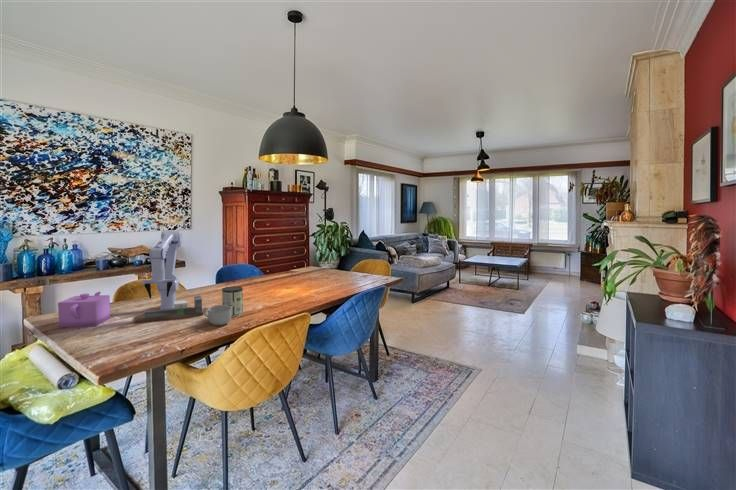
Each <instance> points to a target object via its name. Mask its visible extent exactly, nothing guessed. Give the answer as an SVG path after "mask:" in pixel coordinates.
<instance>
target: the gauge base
mask: <svg viewBox="0 0 736 490" xmlns="http://www.w3.org/2000/svg"><path fill="white" fill-rule="evenodd" d="M193 297H194V300H193V301H194V305H193V307H191V306H190V307H189V306H187V308H182V309H174V308H173V309H163V310H160V309H158V310H149V311H148V310H147V311H143V312H139V313H136V316H135V320H134V321H135V323H136V324H137V323H147V322H155V321H163V320H173V319H182V318H183V319H184V318H190V317H201V316H204V314H203V310H204V309H203V301H202V300H203V298H202V296H201V294H196V295H193Z"/></svg>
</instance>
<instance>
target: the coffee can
mask: <svg viewBox="0 0 736 490" xmlns="http://www.w3.org/2000/svg"><path fill="white" fill-rule="evenodd" d="M243 289H244V288H243V287H242V286H226V287H223V288H221V293H222V294H221V295H222V298H221V299H222V304H221V305H228V306H231V307H232V308H231V318H235V317H239V316H242V315H243V314H244V312H243V311H244V310H243V309H244V308H243V303H244V301H243Z"/></svg>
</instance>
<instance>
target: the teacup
mask: <svg viewBox="0 0 736 490" xmlns="http://www.w3.org/2000/svg"><path fill="white" fill-rule="evenodd" d="M231 308H232V307H231V306H228V305H222V304H218V305H212V306H210V307H209V306H208V307H204V308H203V309H202V310H203V316H205V317H206V318H207V319H208V322H209V323H210V324H211V325H213V326H218V327H219V326H225V325H226V324H228V323H230V321H231V319H232V317H231Z"/></svg>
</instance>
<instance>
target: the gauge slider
mask: <svg viewBox="0 0 736 490" xmlns="http://www.w3.org/2000/svg"><path fill="white" fill-rule="evenodd" d="M187 307H188V300H176V301H174V308H173V309H182V308H187Z"/></svg>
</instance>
